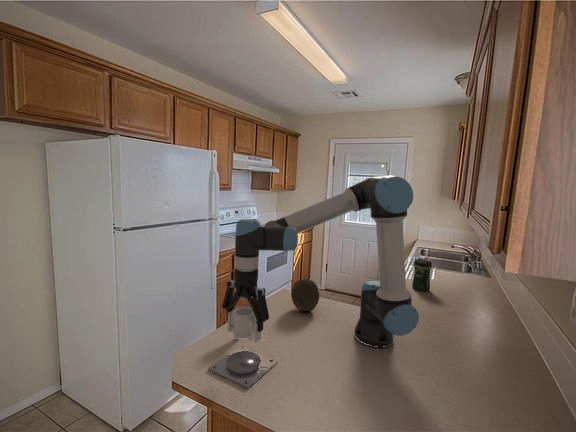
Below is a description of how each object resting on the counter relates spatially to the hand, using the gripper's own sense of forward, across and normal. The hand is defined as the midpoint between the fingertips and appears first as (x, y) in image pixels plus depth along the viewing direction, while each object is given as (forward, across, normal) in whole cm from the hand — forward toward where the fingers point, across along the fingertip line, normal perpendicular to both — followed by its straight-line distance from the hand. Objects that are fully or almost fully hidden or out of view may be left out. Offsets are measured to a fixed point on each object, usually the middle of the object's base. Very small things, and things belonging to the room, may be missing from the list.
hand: (243, 335), depth 95 cm
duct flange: (+11, 0, 0) cm, 11 cm away
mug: (0, -1, 0) cm, 1 cm away
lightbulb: (+11, +13, -12) cm, 21 cm away
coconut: (+11, +4, -51) cm, 52 cm away
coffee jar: (+10, -40, -121) cm, 128 cm away
